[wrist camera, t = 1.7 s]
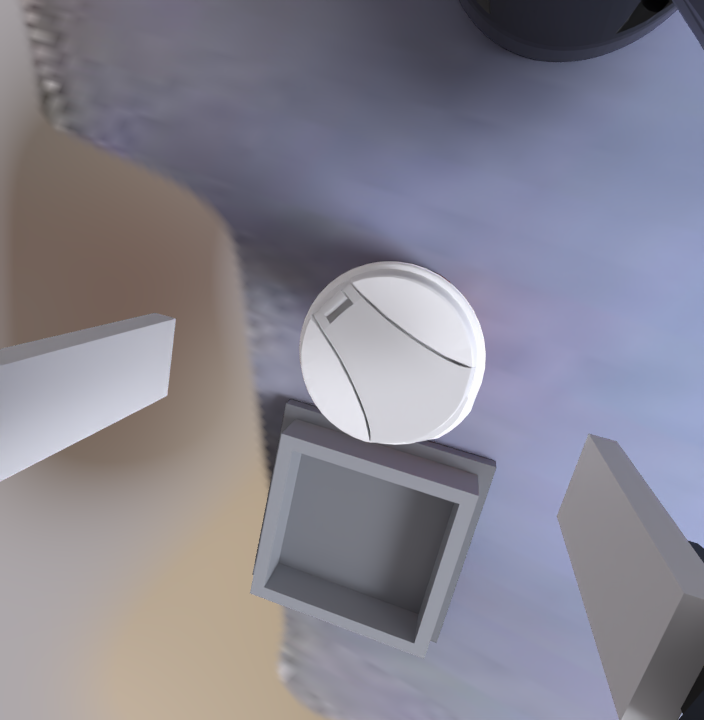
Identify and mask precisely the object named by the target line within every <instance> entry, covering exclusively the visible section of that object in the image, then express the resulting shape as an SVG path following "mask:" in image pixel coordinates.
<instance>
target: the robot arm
mask: <svg viewBox="0 0 704 720" xmlns="http://www.w3.org/2000/svg"><path fill="white" fill-rule="evenodd" d="M459 1H460V3H461V4H462V6H463V8H464V10H465V11H466V13H467V14H468V16H469V17H470V18H471V20H472V21H473V22H474V24H475V25H476V26H477V27H478V28H479V29H480V30H481V31H482V32H483V33H484V34H485V35H486V36H488V37H489V38H490V39H491V40H493V41H494V42H495V43H497V44H499V45H500V46H502V47H503V48H505V49H507V50H509V51H511V52H513V53H516V54H518V55H521V56H524V57H528V58H531V59H536V60H541V61H549V62H570V61H579V60H585V59H590V58H594V57H598V56H601V55H604V54H607V53H610V52H613V51H615V50H618V49H620V48H622V47H624V46H626V45H628V44H630V43H632V42H634V41H636V40H638V39H639V38H641V37H643V36H644V35H646V34H647V33H649V32H650V31H652V30H653V29H655V28H656V27H657V26H659V25H660V24H661V23H662V22H664V21H665V20H666V19H667V18H668V17H670V16H671V15H672V14H673V13H674V12H675V11H676V10H677V9H678V10H679V12H680V13H681V15H682V17H683V18H684V20H685V21H686V23H687V24H688V26H689V27H690V29H691V30H692V32H693V33H694V35H695V36H696V38H697V40H698V41H699V43H700V44H701V46H702V48H703V49H704V0H459ZM175 321H176V319H175V318H172V317H168V316H164V315H161V314H157V313H152V314H148V315H144V316H140V317H135V318H131V319H127V320H122V321H118V322H114V323H110V324H105V325H101V326H97V327H93V328H88V329H84V330H80V331H76V332H71V333H67V334H63V335H59V336H54V337H50V338H45V339H41V340H37V341H33V342H28V343H24V344H19V345H15V346H11V347H7V348H2V349H0V481H2V480H4V479H6V478H8V477H10V476H12V475H14V474H16V473H18V472H20V471H22V470H24V469H25V468H27V467H29V466H31V465H33V464H35V463H37V462H39V461H41V460H43V459H45V458H47V457H49V456H51V455H53V454H54V453H57V452H59V451H60V450H62V449H64V448H66V447H68V446H70V445H72V444H74V443H76V442H78V441H80V440H82V439H84V438H86V437H88V436H90V435H92V434H94V433H95V432H97V431H99V430H101V429H103V428H105V427H107V426H109V425H111V424H113V423H115V422H117V421H119V420H121V419H123V418H125V417H127V416H128V415H130V414H132V413H134V412H136V411H138V410H140V409H142V408H144V407H146V406H148V405H150V404H152V403H154V402H156V401H158V400H160V399H162V398H164V397H165V396H167V392H168V383H169V374H170V364H171V356H172V347H173V338H174V330H175ZM557 518H558V521H559V525H560V528H561V531H562V534H563V538H564V541H565V544H566V547H567V551H568V554H569V557H570V561H571V564H572V567H573V570H574V574H575V577H576V580H577V583H578V587H579V590H580V593H581V596H582V600H583V603H584V606H585V610H586V613H587V616H588V619H589V623H590V626H591V629H592V632H593V636H594V639H595V642H596V645H597V649H598V652H599V655H600V659H601V662H602V665H603V668H604V672H605V675H606V678H607V681H608V685H609V688H610V691H611V694H612V698H613V701H614V704H615V708H616V711H617V714H618V717H619V720H678V719H679V717H680V715H681V713H683V715H682V716H681V717H680V719H679V720H704V548H702V547H701V546H700V545H699V544H697V543H694V542H691V541H688V540H687V539H686V538H685V536H684V535H683V533H682V532H681V531H680V529H679V528H678V526H677V525H676V524H675V522H674V521H673V519H672V518H671V517H670V515H669V514H668V512H667V511H666V510H665V508H664V507H663V505H662V504H661V503H660V501H659V500H658V498H657V497H656V496H655V494H654V493H653V491H652V490H651V489H650V487H649V486H648V484H647V483H646V482H645V480H644V479H643V477H642V476H641V475H640V473H639V472H638V470H637V469H636V468H635V466H634V465H633V463H632V462H631V461H630V459H629V458H628V456H627V455H626V454H625V452H624V451H623V449H622V448H621V447H620V445H619V444H618V442H617V441H613V440H610V439H606V438H602V437H599V436H595V435H592V434H588V437H587V439H586V442H585V444H584V447H583V450H582V452H581V455H580V457H579V460H578V463H577V465H576V468H575V470H574V473H573V476H572V478H571V481H570V483H569V486H568V489H567V491H566V494H565V496H564V499H563V502H562V504H561V507H560V509H559V512H558V515H557Z"/></svg>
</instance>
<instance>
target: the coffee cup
mask: <svg viewBox="0 0 704 720" xmlns="http://www.w3.org/2000/svg"><path fill="white" fill-rule="evenodd" d="M299 350H300V363H301V369H302V374H303V379H304V382H305V384H306V387H307V390H308V392H309V394H310V396H311V398H312V400H313V402H314V403H315V405H316V406H317V407H318V409H319V410H320V412H321V413H322V414H323V415H324V416H325V417H326V418H327V419H328V420H329V421H330V422H331V423H332V424H334V425H335V426H336V427H337V428H339V429H340V430H341V431H343V432H345V433H347V434H349V435H350V436H352V437H355V438H357V439H360V440H362V441H365V442H369V443H371V442H374V443H381V444H393V445H398V444H410V443H415V442H421V441H425V440H430V439H436V438H439V437H441V436H443V435H444V434H446V433H448V432H449V431H451V430H452V429H453V428H455V427H456V426H457V425H458V424H459V423H461V422H462V421H463V419H464V418H465V417H466V416H467V415H468V414H469V413H470V411H471V409H472V406H473V403H474V401H475V398H476V395H477V393H478V390H479V388H480V386H481V383H482V379H483V374H484V370H485V356H486V352H485V343H484V337H483V333H482V330H481V326H480V323H479V321H478V319H477V317H476V315H475V312H474V310H473V309H472V307H471V306H470V304H469V303H468V301H467V300H466V298H465V297H464V296H463V295H462V294H461V293H460V292H459V291H458V290H457V289H456V288H455V287H454V286H453V285H452V284H451V283H450V282H449V281H448V280H447V279H446V278H444V277H443V276H441V275H439V274H437V273H434V272H432V271H430V270H428V269H426V268H423V267H420V266H417V265H414V264H410V263H403V262H397V261H382V262H376V263H370V264H365V265H362V266H359V267H356V268H353V269H351V270H349V271H347V272H346V273H344V274H342V275H340V276H339V277H337V278H336V279H335V280H333V281H332V282H331V283H329V284H328V285H327V286H326V287H325V288H324V289H323V290H322V292H321V293H320V294H319V295H318V296H317V298H316V299H315V301H314V302H313V304H312V305H311V307H310V309H309V311H308V313H307V315H306V317H305V320H304V323H303V327H302V331H301V336H300V345H299Z"/></svg>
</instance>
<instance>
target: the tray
mask: <svg viewBox="0 0 704 720" xmlns="http://www.w3.org/2000/svg"><path fill="white" fill-rule="evenodd" d="M495 470H496V461H493V460H490V459H486V458H483V457H480V456H476V455H473V454H470V453H467V452H463V451H460V450H457V449H453V448H450V447H447V446H443V445H440V444H437V443H434V442H430V441H427V440H425V441H421V442H415V443H410V444H398V445H393V444H381V443H374V442H371V443H369V442H365V441H362V440H360V439H357V438H355V437H352V436H350V435H349V434H347V433H345V432H343V431H341V430H340V429H339V428H337V427H336V426H335V425H334V424H332V423H331V422H330V421H329V420H328V419H327V418H326V417H325V416H324V415H323V414H322V413H321V412H320V410H319V409H318V407H315V406H311V405H308V404H305V403H302V402H298V401H295V400H292V399H290V400H289V401H288V402H287V403H286V406H285V411H284V416H283V421H282V427H281V432H280V437H279V442H278V447H277V452H276V457H275V462H274V467H273V472H272V478H271V483H270V488H269V493H268V498H267V503H266V508H265V513H264V518H263V524H262V529H261V534H260V539H259V544H258V549H257V554H256V559H255V565H254V570H253V575H254V576H253V581H252V586H251V592H250V593H251V594H254V595H256V596H259V597H262V598H264V599H267V600H269V601H272V602H275V603H277V604H280V605H283V606H285V607H288V608H291V609H293V610H296V611H299V612H301V613H304V614H306V615H309V616H312V617H314V618H317V619H320V620H322V621H325V622H328V623H330V624H333V625H336V626H338V627H341V628H343V629H346V630H349V631H351V632H354V633H357V634H359V635H362V636H365V637H367V638H370V639H373V640H375V641H378V642H380V643H383V644H386V645H388V646H391V647H394V648H396V649H399V650H402V651H404V652H407V653H410V654H412V655H415V656H417V657H420V658H423V659H424V658H425V655H426V652H427V649H428V646H429V643H430V641H433V642H435V643H437V640H438V637H439V634H440V631H441V628H442V625H443V622H444V619H445V616H446V613H447V611H448V608H449V605H450V602H451V599H452V596H453V593H454V590H455V587H456V584H457V581H458V578H459V575H460V572H461V570H462V567H463V564H464V561H465V558H466V555H467V552H468V549H469V546H470V543H471V540H472V537H473V534H474V531H475V529H476V526H477V523H478V520H479V517H480V514H481V511H482V508H483V505H484V502H485V499H486V496H487V493H488V490H489V488H490V485H491V482H492V479H493V476H494V473H495Z"/></svg>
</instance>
